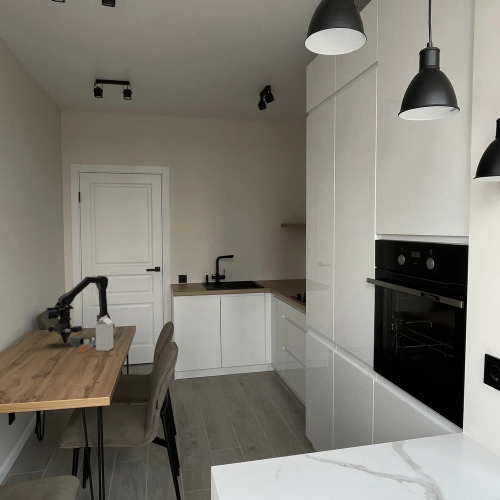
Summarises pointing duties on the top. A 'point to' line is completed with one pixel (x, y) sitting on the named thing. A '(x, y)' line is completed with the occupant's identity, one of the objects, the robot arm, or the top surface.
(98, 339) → the milk carton
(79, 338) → the dark-topped grey cube
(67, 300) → the robot arm
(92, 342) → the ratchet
